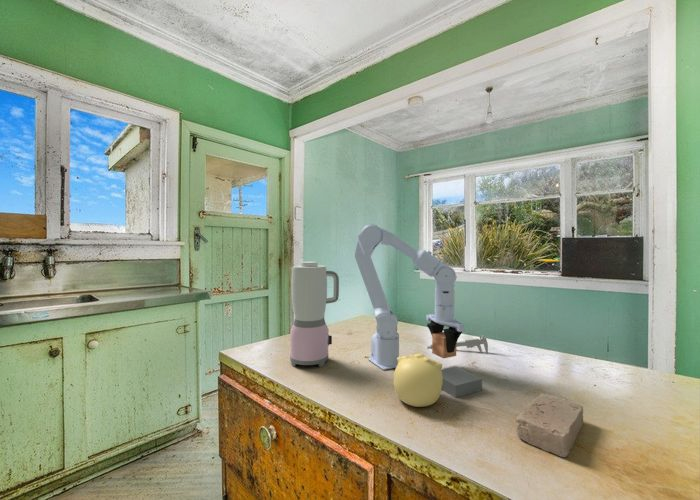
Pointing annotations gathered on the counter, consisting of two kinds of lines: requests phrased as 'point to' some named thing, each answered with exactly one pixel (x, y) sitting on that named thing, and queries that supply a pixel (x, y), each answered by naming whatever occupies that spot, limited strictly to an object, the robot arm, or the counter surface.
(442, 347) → the block
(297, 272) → the blender
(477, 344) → the caliper
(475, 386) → the base
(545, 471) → the counter surface
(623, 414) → the counter surface
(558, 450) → the brick
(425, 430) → the counter surface
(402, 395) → the sculpture
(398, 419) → the counter surface
